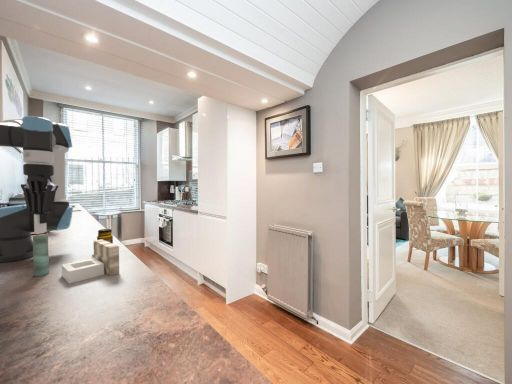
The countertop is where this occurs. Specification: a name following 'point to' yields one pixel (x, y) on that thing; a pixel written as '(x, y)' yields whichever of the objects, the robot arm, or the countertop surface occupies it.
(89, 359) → the countertop surface
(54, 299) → the countertop surface
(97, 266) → the socket block
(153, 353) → the countertop surface
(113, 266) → the wall
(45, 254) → the dowel
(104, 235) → the condiment
